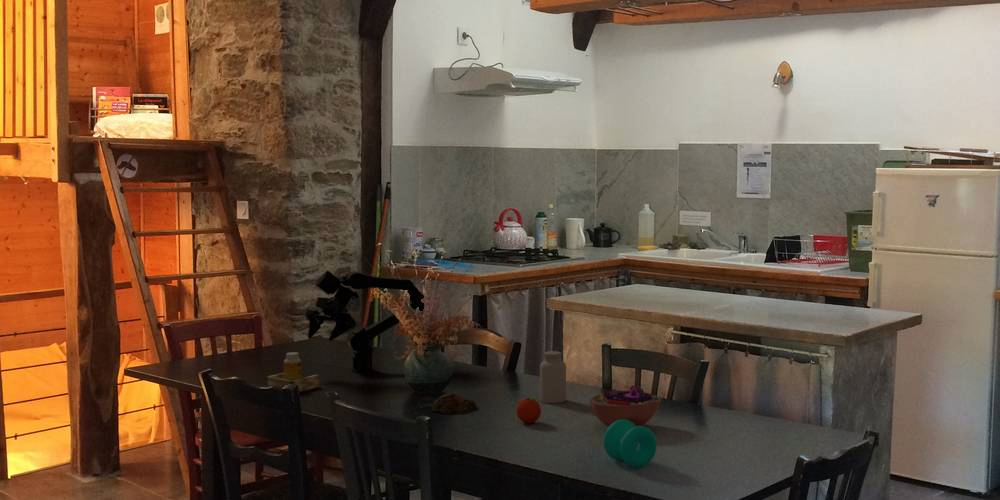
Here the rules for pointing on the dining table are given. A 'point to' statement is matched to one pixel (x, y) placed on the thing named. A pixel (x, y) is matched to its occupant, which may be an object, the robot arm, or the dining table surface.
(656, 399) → the cell model
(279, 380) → the caddy
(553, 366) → the pill bottle
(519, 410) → the tomato
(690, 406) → the dining table surface
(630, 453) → the green spool
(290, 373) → the supplement bottle
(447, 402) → the bread roll
